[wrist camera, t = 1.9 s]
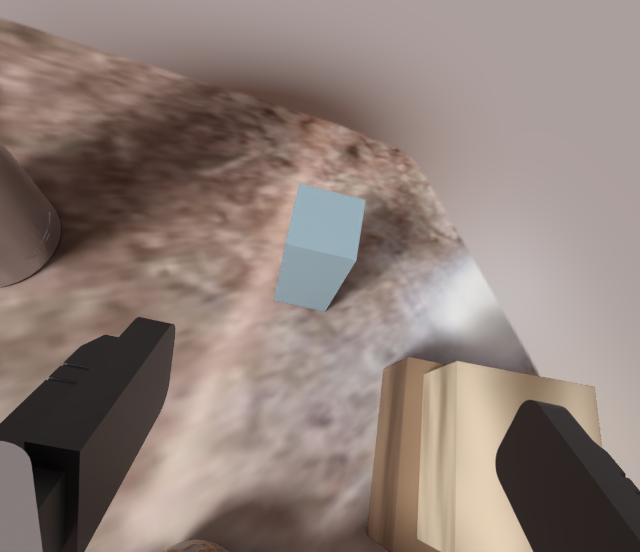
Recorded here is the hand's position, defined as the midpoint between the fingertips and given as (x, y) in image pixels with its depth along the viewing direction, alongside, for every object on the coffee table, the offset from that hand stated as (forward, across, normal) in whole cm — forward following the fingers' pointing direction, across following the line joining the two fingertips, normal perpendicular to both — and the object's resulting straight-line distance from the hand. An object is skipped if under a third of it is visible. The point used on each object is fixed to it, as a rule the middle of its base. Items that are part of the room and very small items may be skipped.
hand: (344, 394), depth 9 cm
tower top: (+13, -14, +13) cm, 23 cm away
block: (+26, 0, +8) cm, 27 cm away
